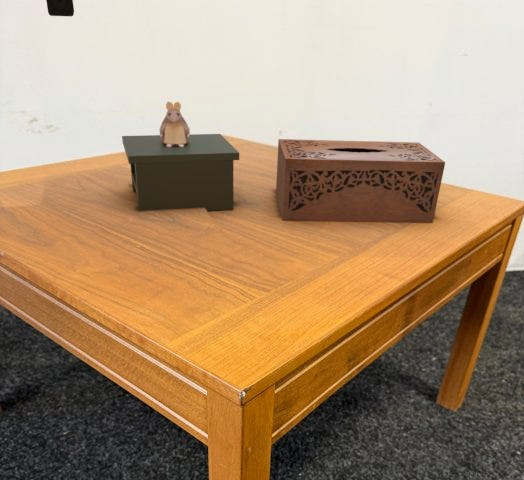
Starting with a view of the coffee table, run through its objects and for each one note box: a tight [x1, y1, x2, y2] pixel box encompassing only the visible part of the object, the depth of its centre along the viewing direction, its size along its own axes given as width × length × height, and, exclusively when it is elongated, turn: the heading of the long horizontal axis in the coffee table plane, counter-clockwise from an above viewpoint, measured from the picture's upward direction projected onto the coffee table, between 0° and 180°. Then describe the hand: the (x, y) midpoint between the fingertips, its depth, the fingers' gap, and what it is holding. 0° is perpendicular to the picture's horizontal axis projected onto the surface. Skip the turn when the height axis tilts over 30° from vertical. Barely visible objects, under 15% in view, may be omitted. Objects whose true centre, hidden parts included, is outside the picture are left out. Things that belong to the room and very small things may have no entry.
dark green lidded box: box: [121, 133, 240, 212], centre depth 97 cm, size 18×15×10 cm
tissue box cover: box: [275, 138, 446, 224], centre depth 96 cm, size 26×14×10 cm, turn 93°
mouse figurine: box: [159, 101, 191, 147], centre depth 94 cm, size 5×8×7 cm, turn 7°
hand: (62, 14), depth 76 cm, fingers open, 9 cm apart
